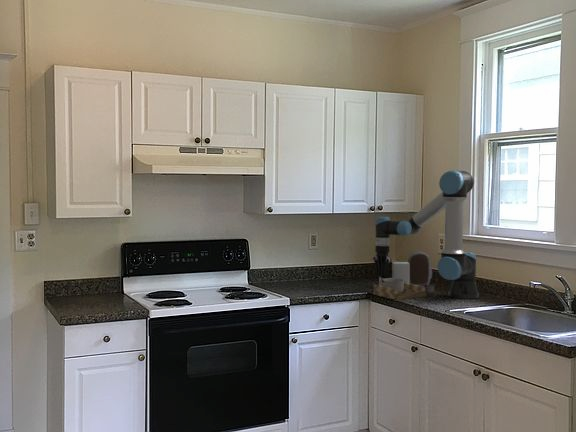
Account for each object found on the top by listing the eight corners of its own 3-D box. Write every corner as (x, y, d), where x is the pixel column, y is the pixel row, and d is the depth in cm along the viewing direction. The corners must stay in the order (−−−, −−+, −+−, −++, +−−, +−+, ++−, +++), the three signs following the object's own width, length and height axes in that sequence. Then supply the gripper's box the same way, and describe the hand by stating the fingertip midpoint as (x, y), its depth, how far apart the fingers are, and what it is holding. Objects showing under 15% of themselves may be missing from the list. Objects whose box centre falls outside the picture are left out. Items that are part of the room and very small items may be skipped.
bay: (440, 296, 325) (440, 279, 325) (399, 300, 311) (399, 282, 311) (412, 290, 343) (413, 274, 343) (373, 294, 329) (373, 277, 329)
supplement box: (408, 288, 350) (408, 261, 350) (409, 290, 341) (410, 263, 341) (391, 288, 351) (392, 261, 351) (392, 290, 342) (393, 263, 342)
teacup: (408, 294, 328) (408, 279, 328) (392, 296, 322) (393, 281, 322) (389, 291, 340) (390, 276, 340) (374, 292, 334) (375, 278, 334)
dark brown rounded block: (405, 286, 359) (406, 251, 358) (406, 283, 367) (406, 249, 366) (432, 287, 355) (433, 251, 355) (432, 284, 364) (432, 250, 363)
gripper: (369, 244, 341) (369, 287, 342) (384, 246, 330) (384, 291, 331) (380, 244, 345) (379, 286, 346) (395, 245, 334) (395, 289, 335)
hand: (381, 288), depth 338 cm, fingers closed
